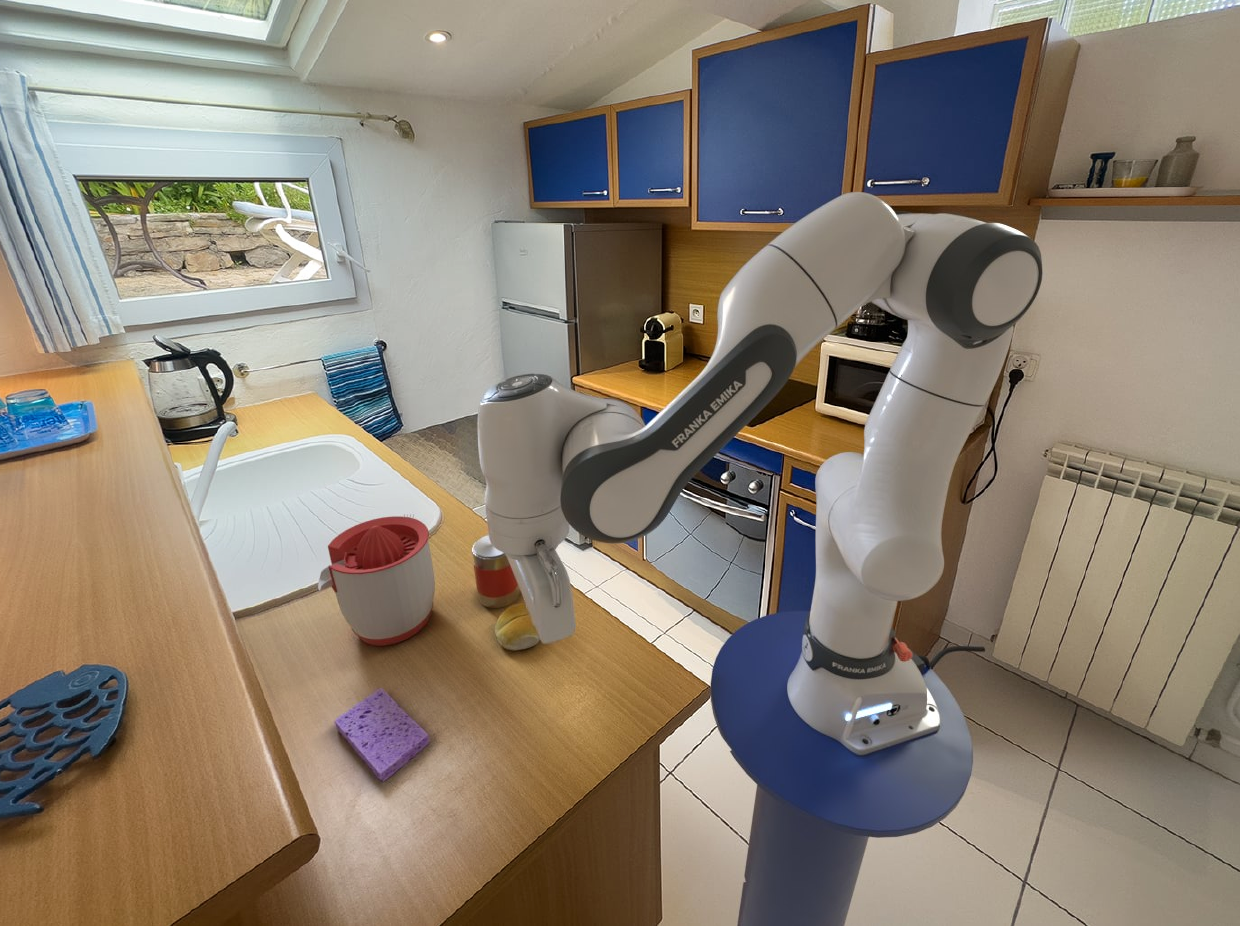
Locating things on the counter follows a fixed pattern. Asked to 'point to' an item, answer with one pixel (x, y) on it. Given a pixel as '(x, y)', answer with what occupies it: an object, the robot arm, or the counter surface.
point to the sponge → (382, 733)
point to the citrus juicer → (382, 578)
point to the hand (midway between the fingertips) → (536, 616)
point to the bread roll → (516, 628)
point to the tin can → (493, 575)
